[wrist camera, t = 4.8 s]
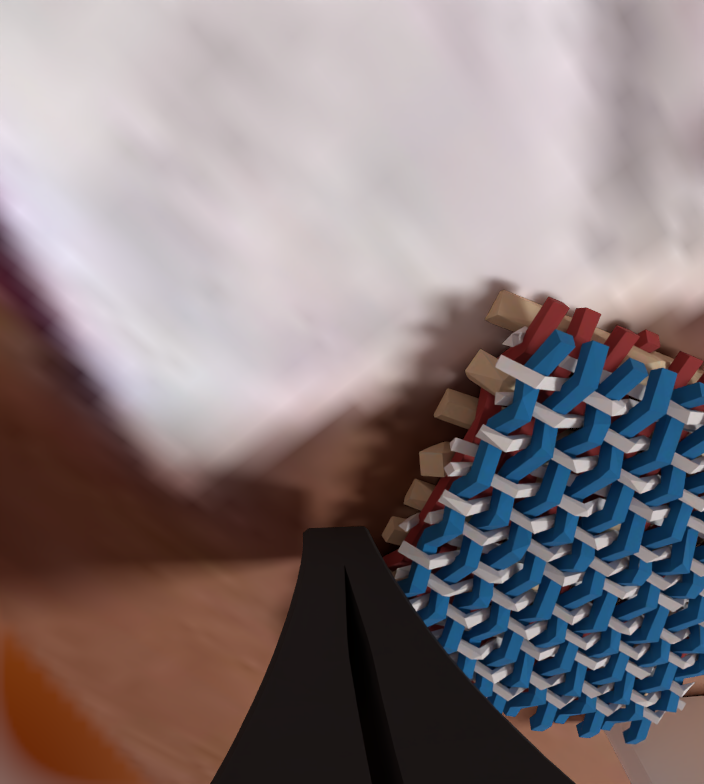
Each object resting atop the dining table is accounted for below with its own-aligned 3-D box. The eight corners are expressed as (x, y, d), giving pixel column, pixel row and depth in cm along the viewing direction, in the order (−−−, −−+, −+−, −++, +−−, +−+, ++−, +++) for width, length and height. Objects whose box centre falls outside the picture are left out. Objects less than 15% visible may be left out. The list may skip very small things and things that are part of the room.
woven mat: (866, 412, 13) (958, 461, 11) (615, 687, 17) (654, 754, 16) (501, 259, 10) (548, 292, 9) (305, 633, 14) (310, 708, 13)
